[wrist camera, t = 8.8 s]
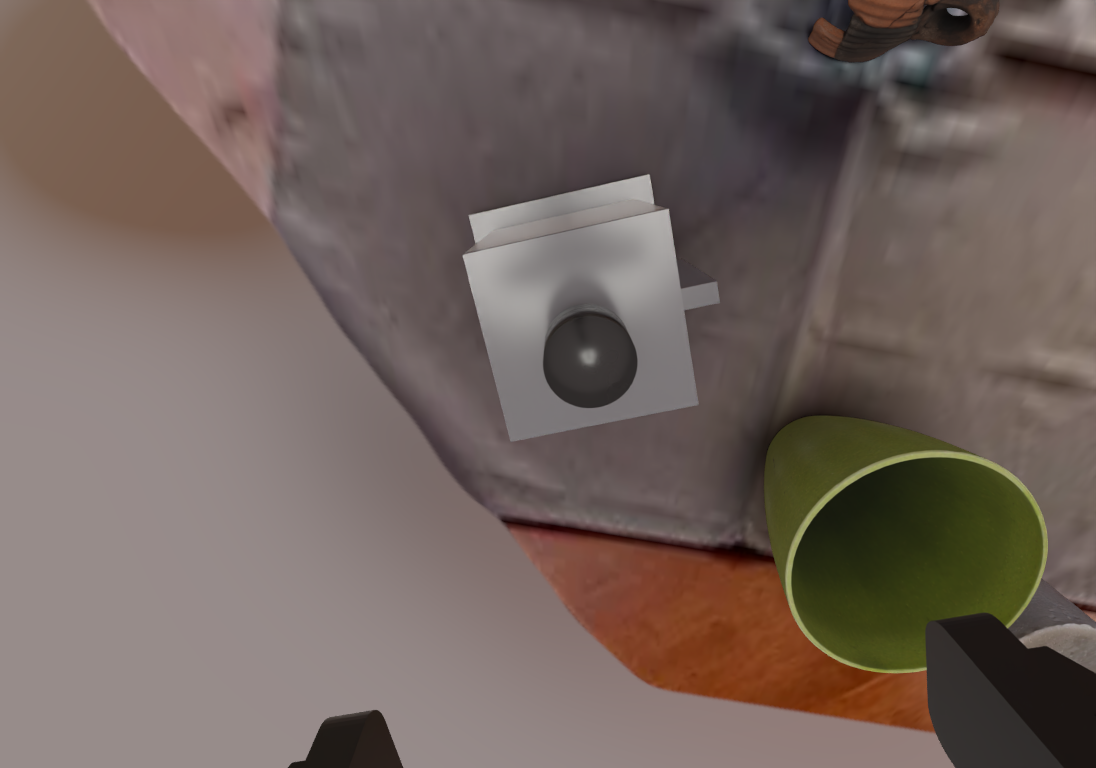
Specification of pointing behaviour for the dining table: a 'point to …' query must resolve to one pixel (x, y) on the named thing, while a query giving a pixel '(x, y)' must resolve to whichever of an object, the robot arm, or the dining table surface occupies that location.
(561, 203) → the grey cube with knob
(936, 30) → the pottery mug
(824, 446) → the flower pot
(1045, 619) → the pillar candle
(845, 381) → the dining table surface
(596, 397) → the plunger
